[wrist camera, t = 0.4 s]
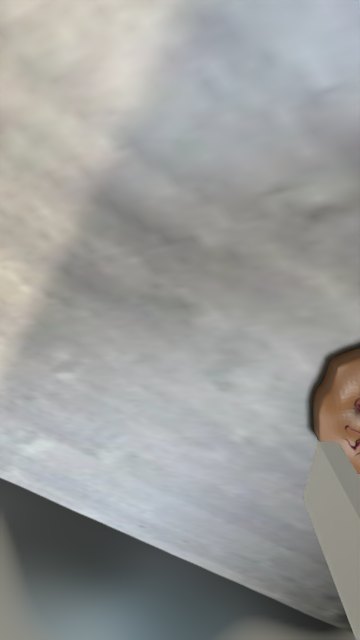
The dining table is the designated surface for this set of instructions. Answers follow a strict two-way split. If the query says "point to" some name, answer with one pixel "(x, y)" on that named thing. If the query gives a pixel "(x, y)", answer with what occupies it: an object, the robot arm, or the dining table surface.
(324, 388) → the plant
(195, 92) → the dining table surface
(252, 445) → the dining table surface
